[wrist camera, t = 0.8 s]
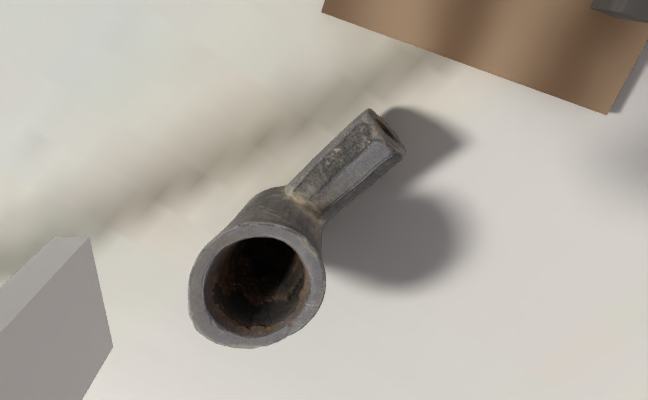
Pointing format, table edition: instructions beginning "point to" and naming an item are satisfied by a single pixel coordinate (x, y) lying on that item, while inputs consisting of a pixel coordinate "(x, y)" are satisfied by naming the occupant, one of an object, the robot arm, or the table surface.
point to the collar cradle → (520, 39)
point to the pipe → (284, 243)
